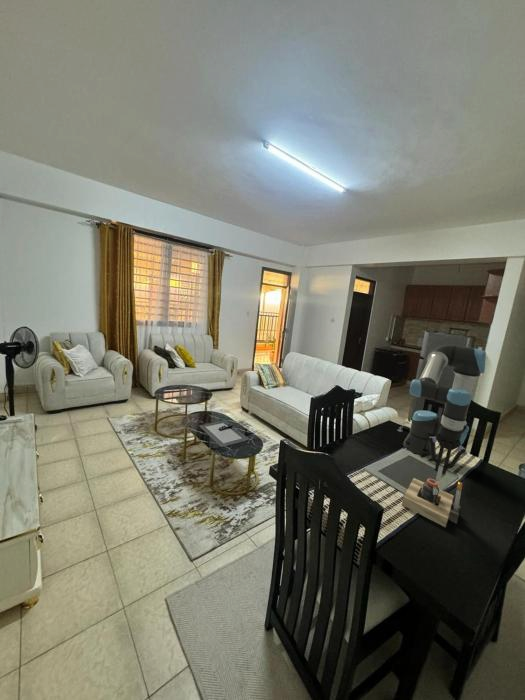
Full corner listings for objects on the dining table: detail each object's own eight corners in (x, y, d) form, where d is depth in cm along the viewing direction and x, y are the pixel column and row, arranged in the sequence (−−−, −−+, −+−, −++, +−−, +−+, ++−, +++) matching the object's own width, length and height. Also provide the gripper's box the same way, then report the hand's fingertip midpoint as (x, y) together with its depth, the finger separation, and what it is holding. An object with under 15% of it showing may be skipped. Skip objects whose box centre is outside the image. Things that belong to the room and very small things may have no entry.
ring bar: (453, 510, 115) (458, 479, 113) (457, 511, 115) (462, 481, 112) (452, 514, 113) (457, 483, 111) (456, 516, 112) (461, 485, 110)
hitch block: (411, 485, 132) (413, 477, 131) (459, 507, 120) (462, 499, 119) (401, 504, 118) (403, 496, 117) (454, 532, 106) (457, 523, 106)
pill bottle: (437, 510, 117) (443, 487, 115) (422, 507, 118) (427, 484, 116) (431, 500, 123) (437, 478, 120) (417, 497, 124) (422, 475, 121)
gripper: (431, 423, 113) (418, 475, 117) (470, 436, 105) (455, 491, 109) (434, 418, 119) (422, 468, 123) (471, 430, 110) (457, 483, 115)
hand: (438, 479), depth 116 cm, fingers closed
